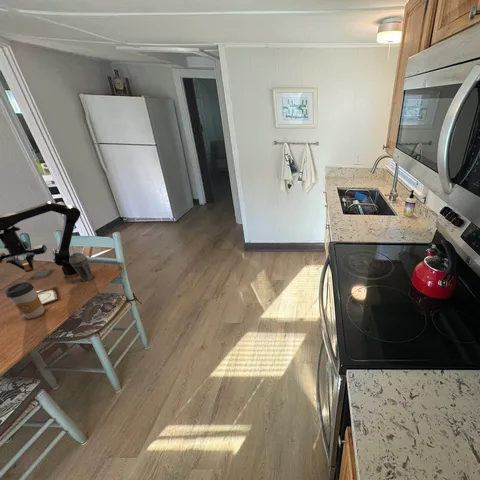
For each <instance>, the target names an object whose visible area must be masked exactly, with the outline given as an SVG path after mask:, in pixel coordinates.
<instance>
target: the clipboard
mask: <svg viewBox="0 0 480 480" xmlns="http://www.w3.org/2000/svg"><path fill="white" fill-rule="evenodd" d="M36 293H37V295H38V297H39V299H40V301H41V303H42V305H43V306H45V305H47V304H51V303H53V302H56V301H58V300H59V299H58V295H57V292H56V289H55V288H53V289H48V290H44V289H41V290H37V291H36Z"/></svg>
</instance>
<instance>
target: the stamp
mask: <svg viewBox="0 0 480 480" xmlns="http://www.w3.org/2000/svg"><path fill="white" fill-rule="evenodd" d="M22 266H23V267H24V269H25V270H24V272H25V273H31V272H33V271H34V270H35V268H34V267H33V268H31V267H30V265H29V263H28V262H25V263H22Z"/></svg>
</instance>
